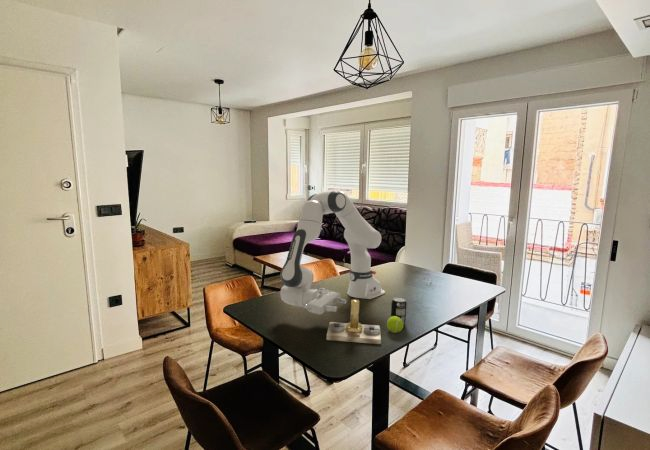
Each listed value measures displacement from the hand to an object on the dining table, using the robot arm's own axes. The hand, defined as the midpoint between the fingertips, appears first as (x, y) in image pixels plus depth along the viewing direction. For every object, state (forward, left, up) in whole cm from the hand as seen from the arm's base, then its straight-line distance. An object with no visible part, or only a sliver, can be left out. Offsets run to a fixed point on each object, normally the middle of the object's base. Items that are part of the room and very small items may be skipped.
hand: (341, 305), depth 146 cm
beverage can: (-27, +8, -12) cm, 31 cm away
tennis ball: (-20, +13, -12) cm, 26 cm away
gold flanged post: (-3, +6, -10) cm, 11 cm away
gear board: (-3, +6, -12) cm, 13 cm away
